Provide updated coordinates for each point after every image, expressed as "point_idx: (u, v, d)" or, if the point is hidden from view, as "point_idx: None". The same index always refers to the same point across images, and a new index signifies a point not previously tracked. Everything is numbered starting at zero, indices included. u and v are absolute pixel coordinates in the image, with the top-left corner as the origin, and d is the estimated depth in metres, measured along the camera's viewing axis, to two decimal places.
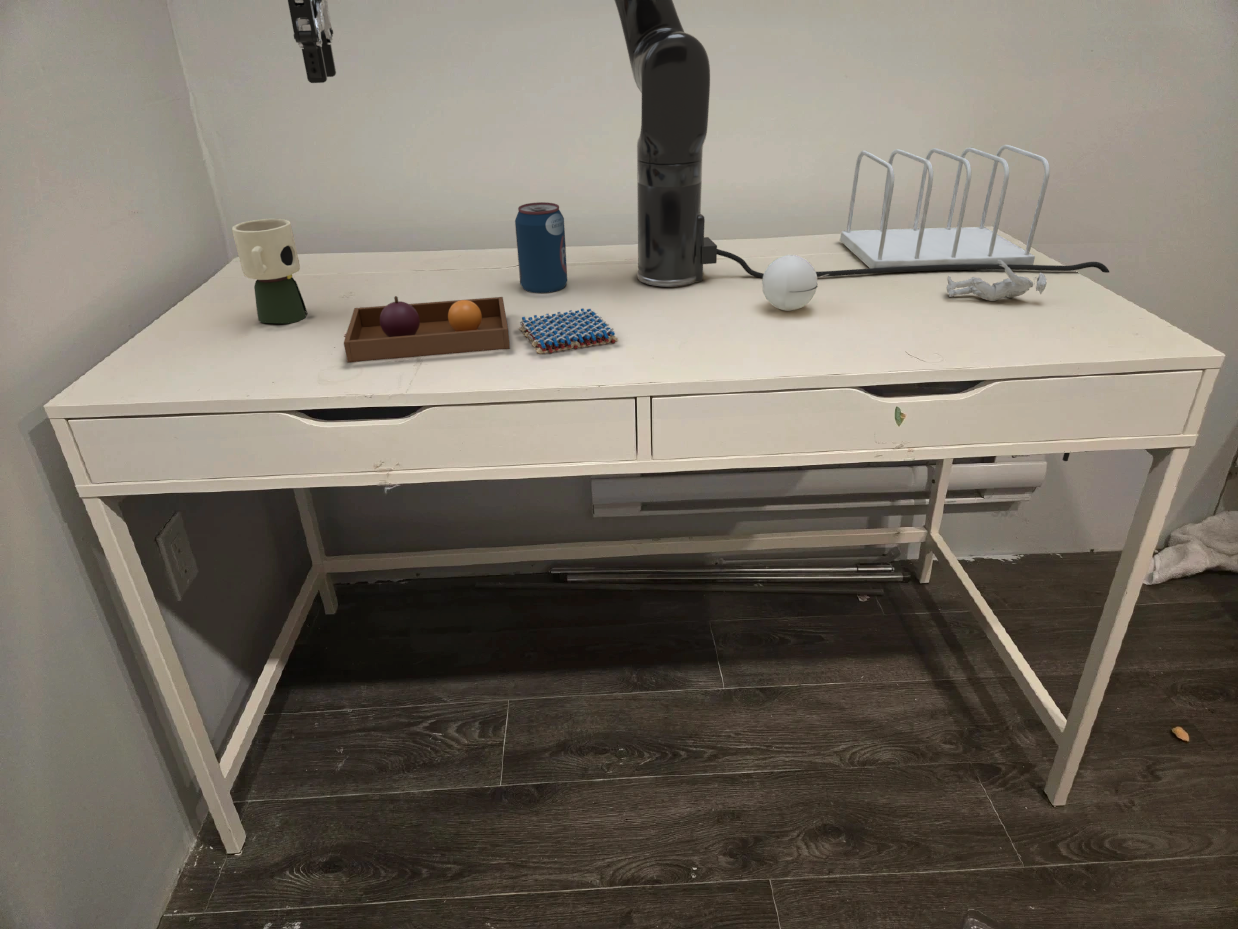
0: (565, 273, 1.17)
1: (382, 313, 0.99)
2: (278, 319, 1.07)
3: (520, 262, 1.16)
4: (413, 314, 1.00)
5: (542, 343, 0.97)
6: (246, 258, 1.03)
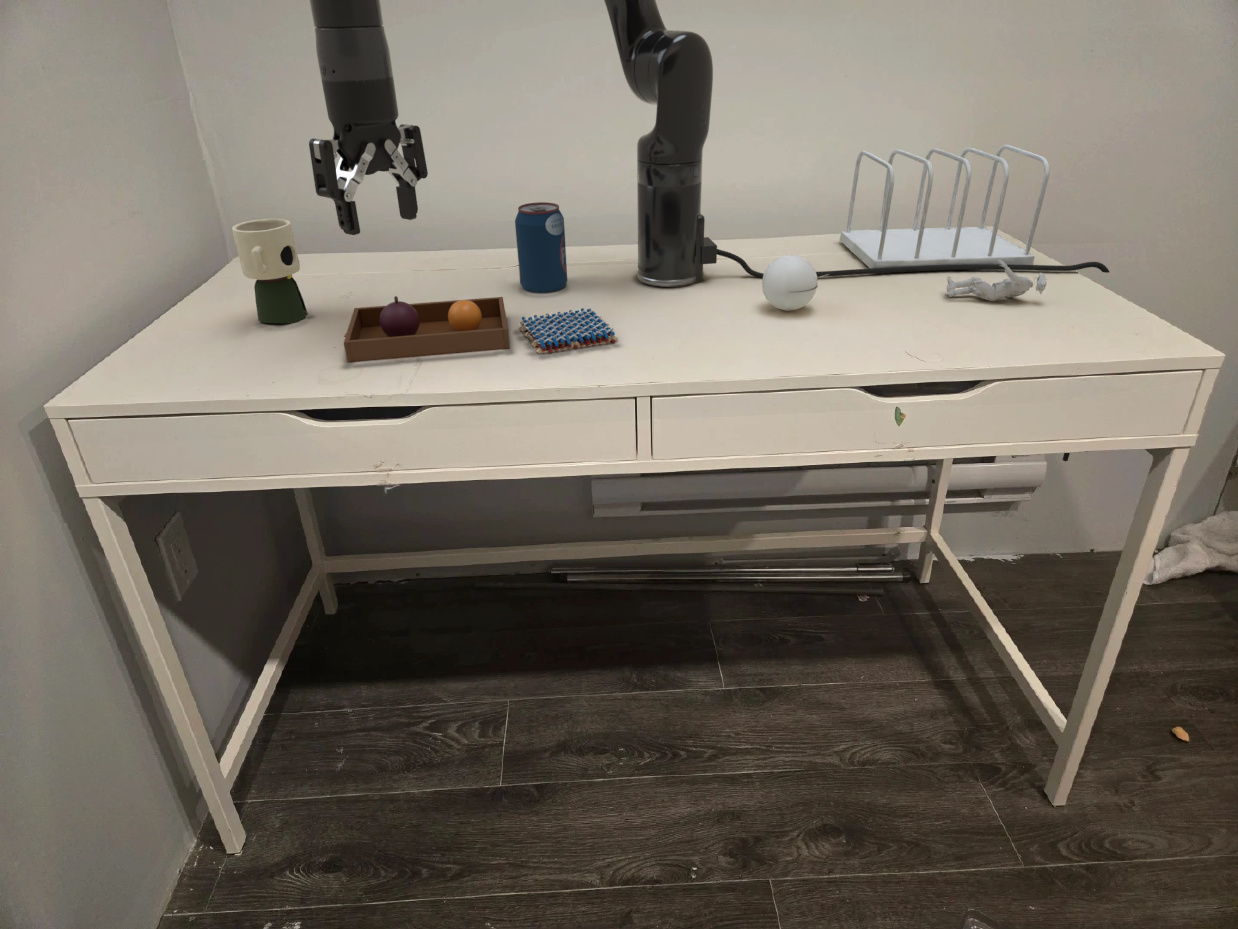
0: (565, 273, 1.17)
1: (382, 313, 0.99)
2: (278, 319, 1.07)
3: (520, 262, 1.16)
4: (413, 314, 1.00)
5: (542, 343, 0.97)
6: (246, 258, 1.03)
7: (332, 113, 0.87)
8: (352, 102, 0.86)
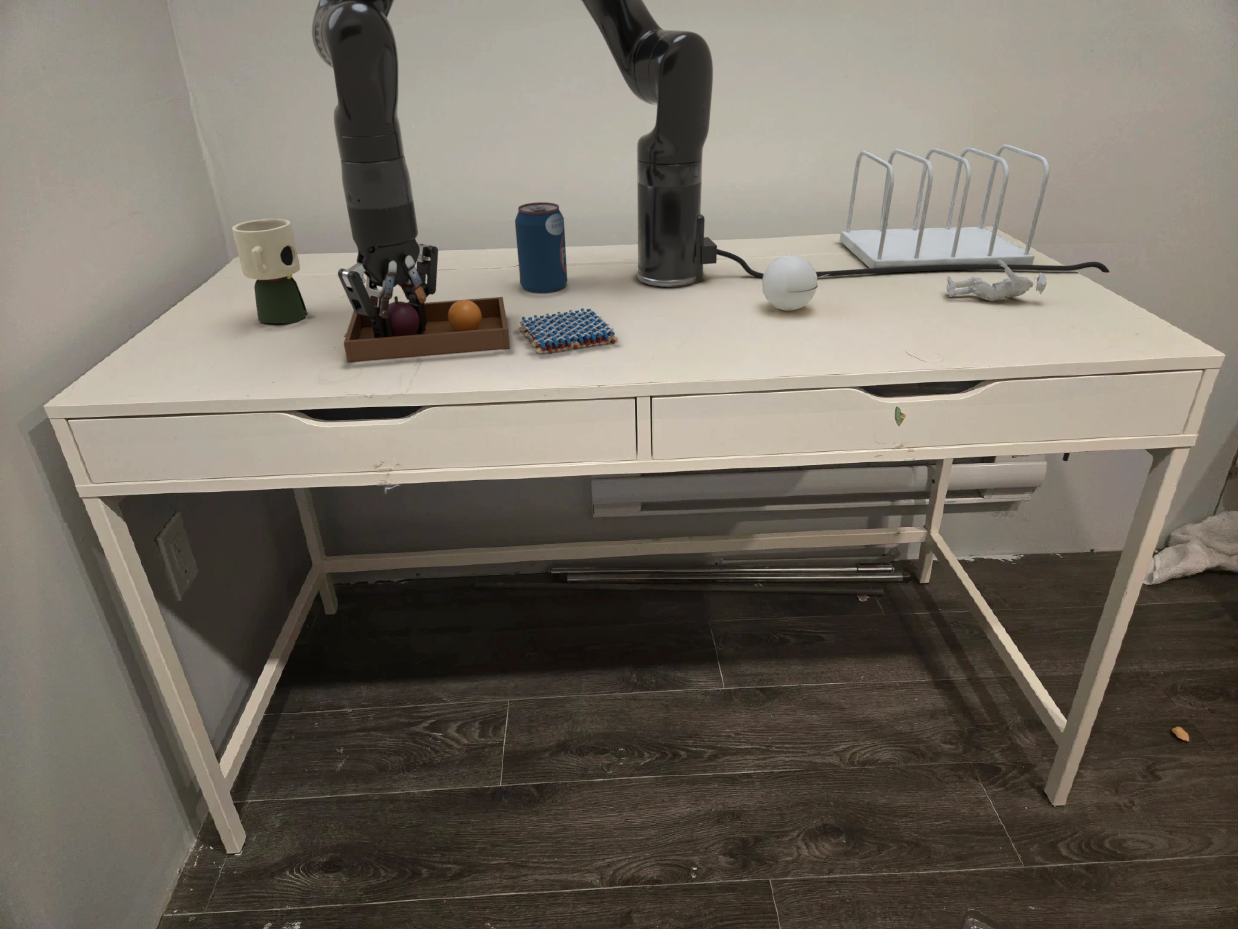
0: (565, 273, 1.17)
1: None
2: (278, 319, 1.07)
3: (520, 262, 1.16)
4: (413, 314, 1.00)
5: (542, 343, 0.97)
6: (246, 258, 1.03)
7: (356, 236, 0.93)
8: (376, 227, 0.91)
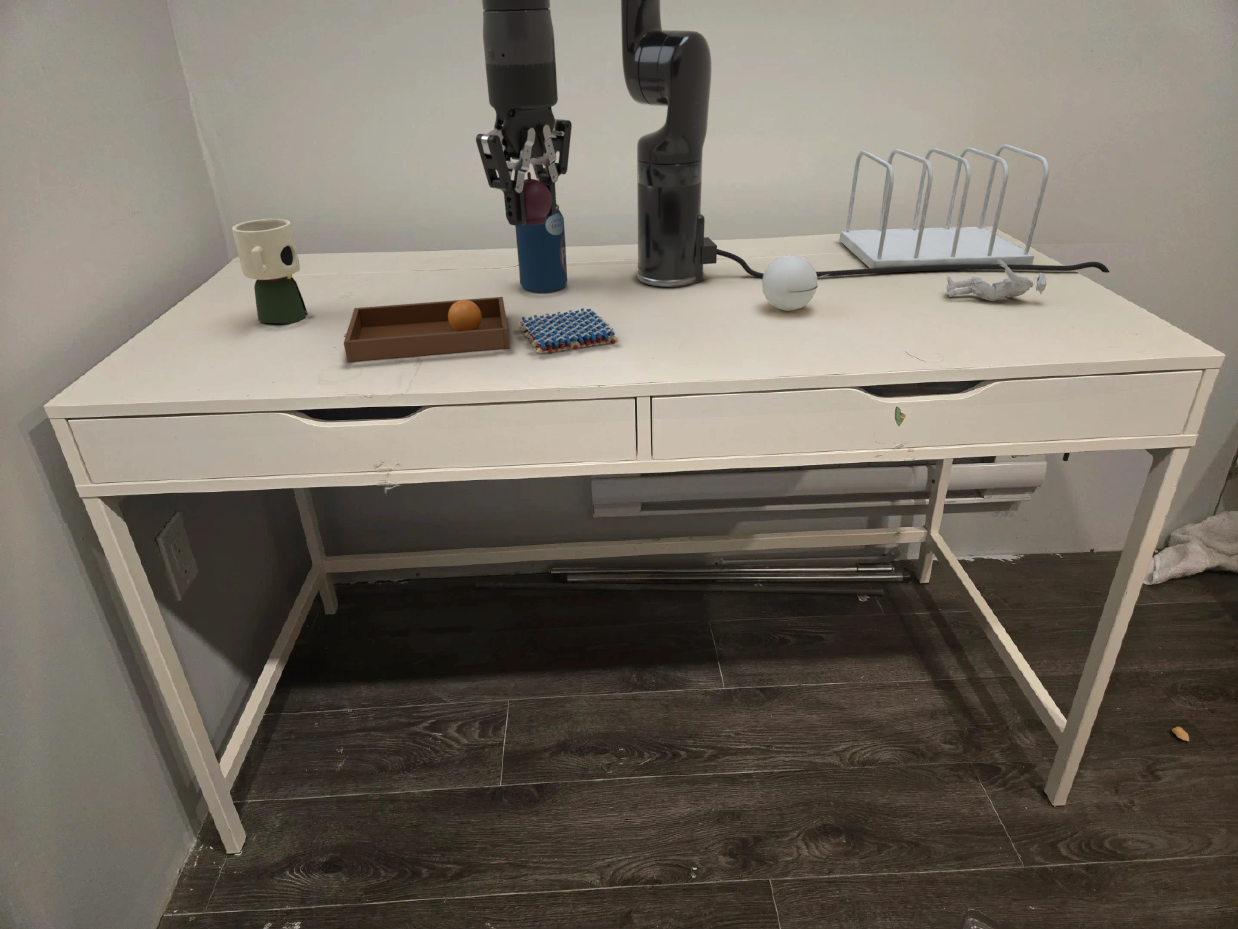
0: (565, 273, 1.17)
1: None
2: (278, 319, 1.07)
3: (520, 262, 1.16)
4: (547, 192, 0.93)
5: (542, 343, 0.97)
6: (246, 258, 1.03)
7: (496, 98, 0.86)
8: (519, 86, 0.85)
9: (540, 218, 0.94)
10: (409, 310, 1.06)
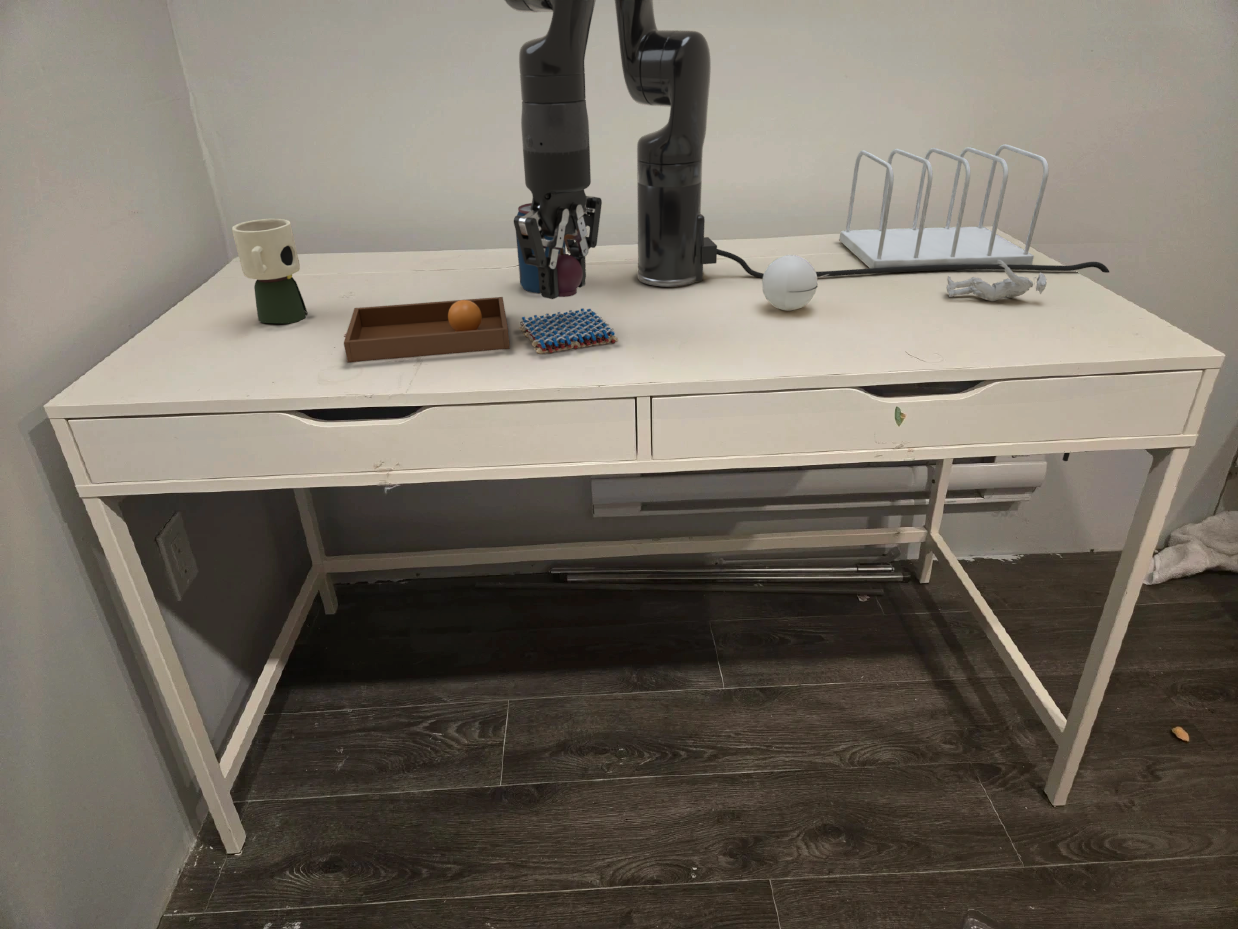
0: None
1: None
2: (278, 319, 1.07)
3: (520, 262, 1.16)
4: (578, 266, 0.97)
5: (542, 343, 0.97)
6: (246, 258, 1.03)
7: (533, 182, 0.90)
8: (556, 172, 0.89)
9: (571, 291, 0.98)
10: (409, 310, 1.06)
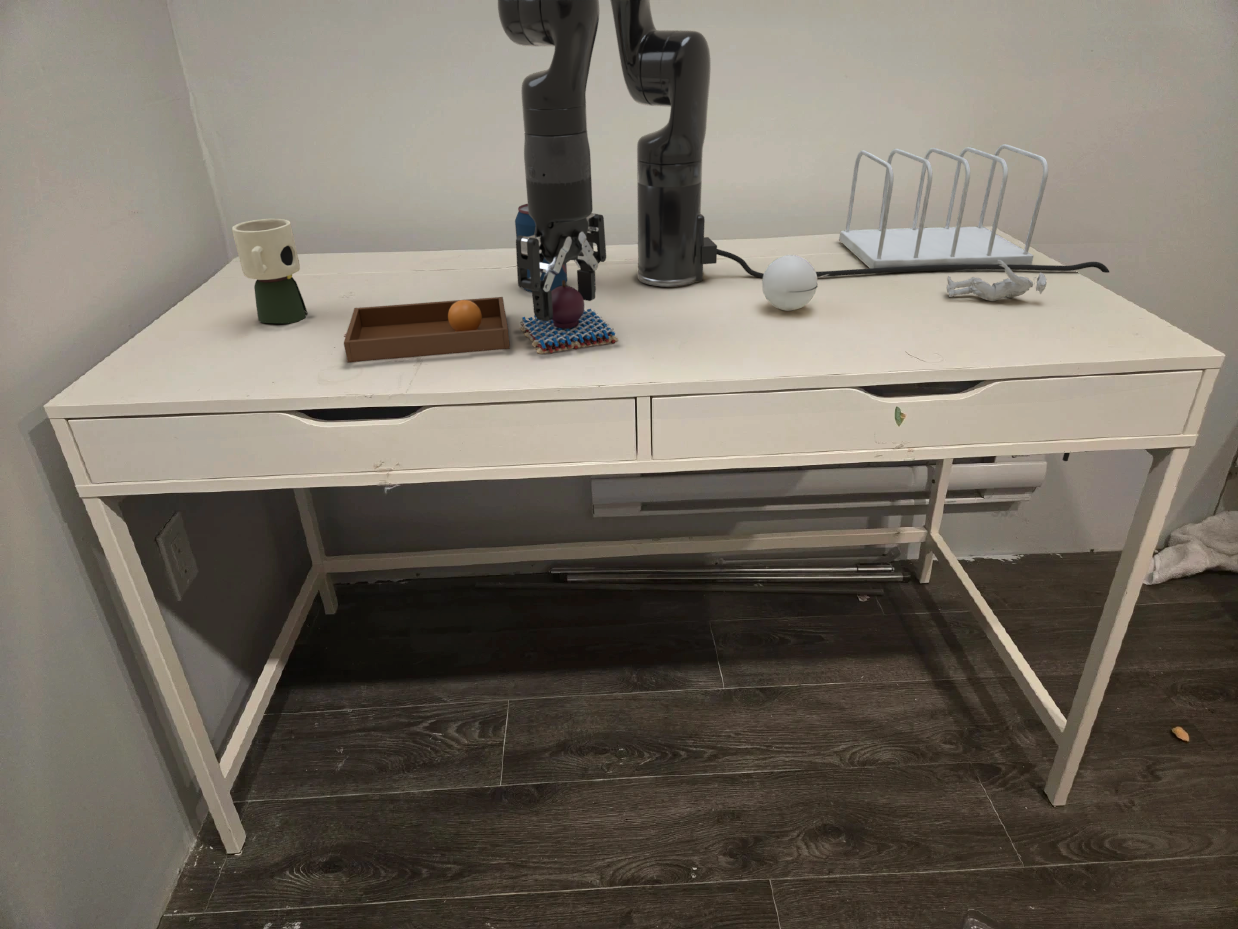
0: (565, 273, 1.17)
1: None
2: (278, 319, 1.07)
3: None
4: (580, 298, 0.99)
5: (542, 343, 0.97)
6: (246, 258, 1.03)
7: (536, 211, 0.92)
8: (559, 202, 0.91)
9: (573, 322, 1.00)
10: (409, 310, 1.06)
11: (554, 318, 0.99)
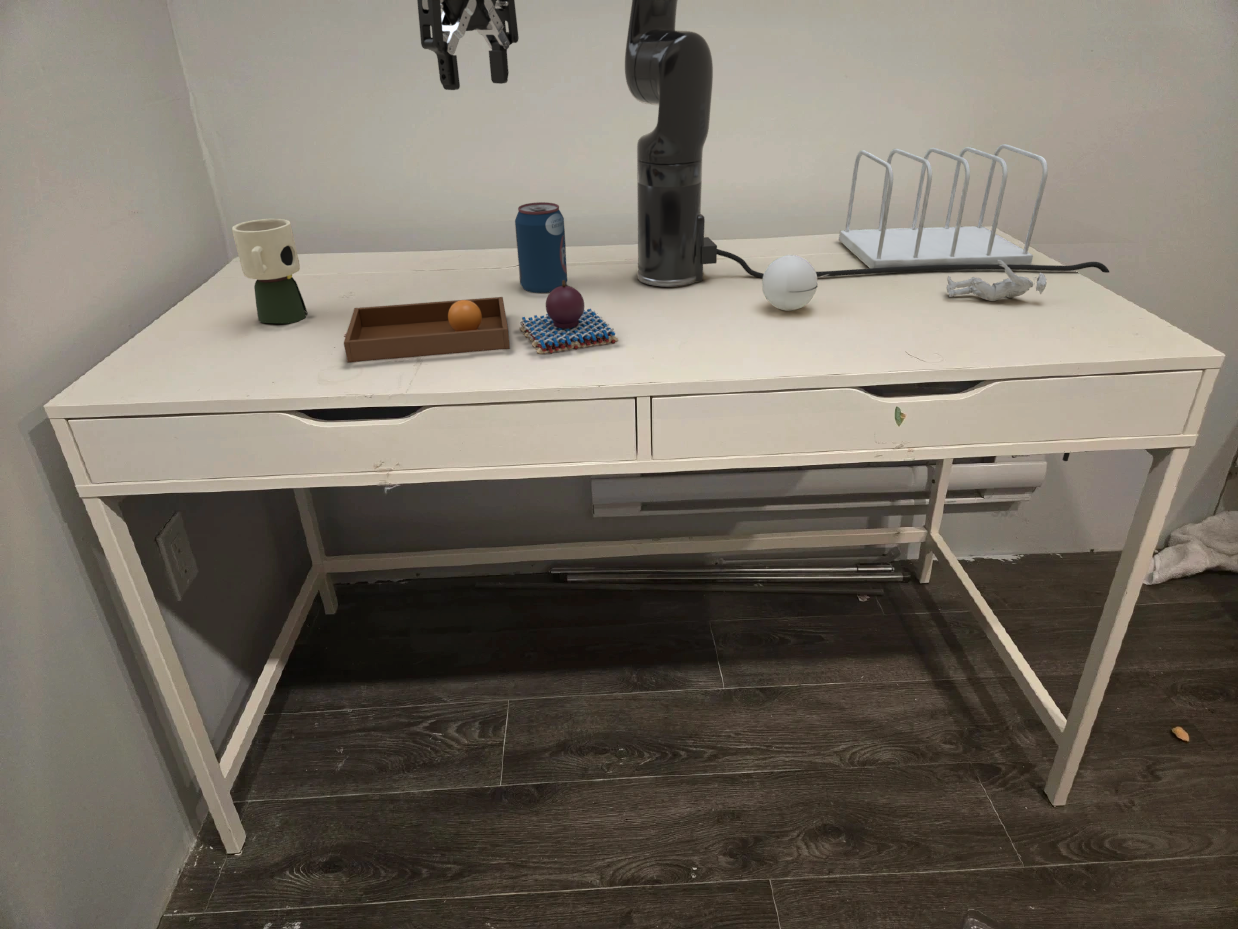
0: (565, 273, 1.17)
1: (550, 297, 0.99)
2: (278, 319, 1.07)
3: (520, 262, 1.16)
4: (580, 298, 0.99)
5: (542, 343, 0.97)
6: (246, 258, 1.03)
7: None
8: None
9: (573, 322, 1.00)
10: (409, 310, 1.06)
11: (554, 318, 0.99)
